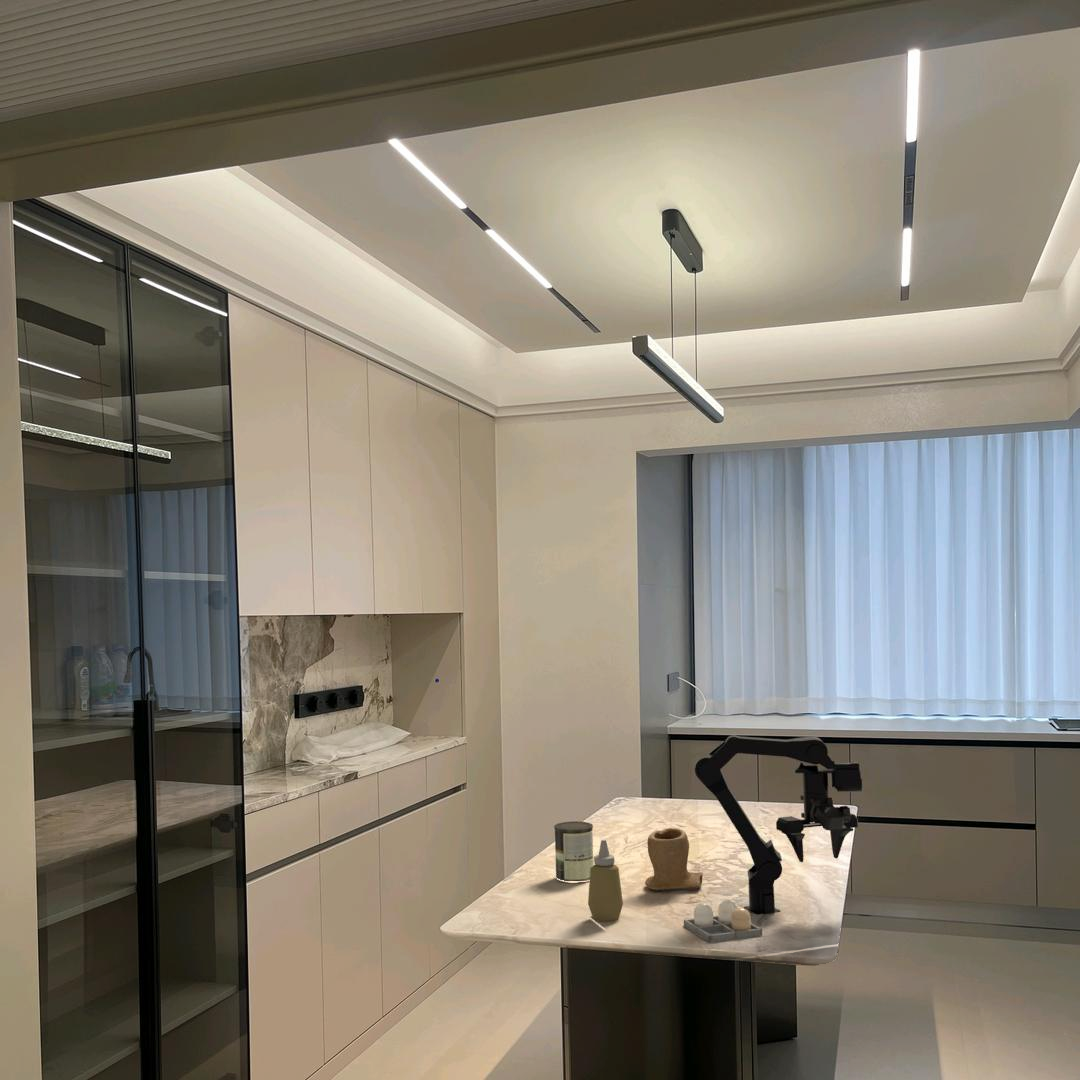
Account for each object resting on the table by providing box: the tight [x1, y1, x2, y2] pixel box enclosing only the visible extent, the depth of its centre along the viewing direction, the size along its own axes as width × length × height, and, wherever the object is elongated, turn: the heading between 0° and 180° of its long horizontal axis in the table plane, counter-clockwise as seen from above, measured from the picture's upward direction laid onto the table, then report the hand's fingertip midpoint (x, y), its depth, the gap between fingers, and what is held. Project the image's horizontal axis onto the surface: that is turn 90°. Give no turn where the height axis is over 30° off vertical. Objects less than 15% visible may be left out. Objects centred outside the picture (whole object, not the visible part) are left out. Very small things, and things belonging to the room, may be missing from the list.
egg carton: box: [683, 915, 763, 943], centre depth 234 cm, size 13×13×2 cm
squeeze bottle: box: [587, 839, 624, 923], centre depth 246 cm, size 8×8×18 cm
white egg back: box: [693, 903, 714, 927], centre depth 236 cm, size 4×4×5 cm
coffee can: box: [554, 820, 594, 881], centre depth 284 cm, size 10×10×14 cm
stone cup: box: [644, 827, 704, 891], centre depth 271 cm, size 15×12×15 cm
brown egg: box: [731, 907, 752, 931], centre depth 232 cm, size 4×4×5 cm
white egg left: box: [717, 900, 738, 924], centre depth 237 cm, size 4×4×5 cm
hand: (818, 860), depth 248 cm, fingers open, 9 cm apart
